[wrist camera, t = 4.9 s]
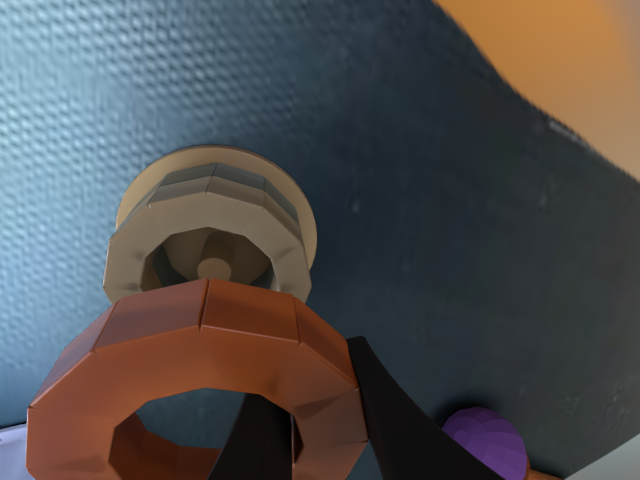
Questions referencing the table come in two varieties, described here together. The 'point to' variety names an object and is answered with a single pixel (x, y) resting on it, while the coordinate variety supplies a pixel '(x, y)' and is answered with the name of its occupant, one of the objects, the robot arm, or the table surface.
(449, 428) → the purple maraca
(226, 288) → the top ring
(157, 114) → the table surface
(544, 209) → the table surface
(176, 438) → the table surface
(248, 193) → the ring stand
